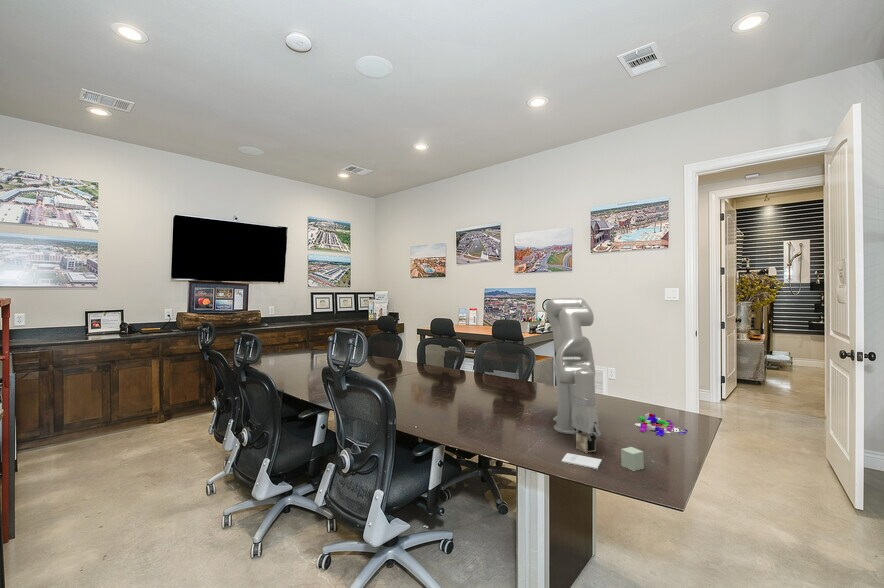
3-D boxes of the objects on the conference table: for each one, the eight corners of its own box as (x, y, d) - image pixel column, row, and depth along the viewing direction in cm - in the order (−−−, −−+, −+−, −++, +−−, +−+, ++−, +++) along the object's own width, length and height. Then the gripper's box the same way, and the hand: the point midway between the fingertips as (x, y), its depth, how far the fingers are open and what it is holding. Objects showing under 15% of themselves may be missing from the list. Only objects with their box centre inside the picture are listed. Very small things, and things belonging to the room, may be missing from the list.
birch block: (576, 448, 156) (576, 433, 156) (586, 446, 158) (585, 431, 158) (585, 453, 152) (585, 437, 152) (595, 450, 154) (595, 435, 154)
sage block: (621, 466, 140) (621, 449, 140) (631, 463, 142) (631, 446, 142) (633, 471, 136) (633, 454, 136) (643, 468, 138) (643, 451, 138)
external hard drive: (597, 472, 137) (561, 464, 144) (602, 463, 144) (567, 456, 151) (597, 467, 137) (561, 459, 144) (602, 458, 144) (567, 452, 151)
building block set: (681, 441, 163) (681, 430, 163) (628, 431, 177) (628, 421, 177) (691, 425, 182) (691, 416, 182) (643, 417, 196) (642, 408, 196)
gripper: (562, 397, 161) (563, 442, 161) (594, 408, 146) (595, 457, 146) (576, 395, 164) (577, 439, 164) (609, 405, 149) (610, 453, 149)
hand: (585, 447), depth 155 cm, fingers closed on birch block, 4 cm apart
